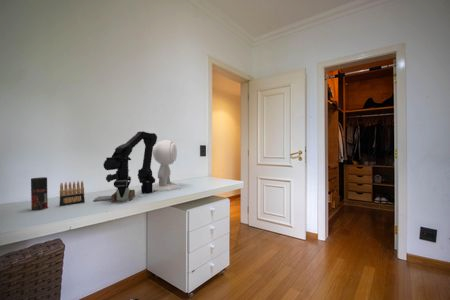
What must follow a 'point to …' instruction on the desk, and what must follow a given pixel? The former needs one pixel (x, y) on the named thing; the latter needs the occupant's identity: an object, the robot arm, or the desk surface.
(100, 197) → the mat
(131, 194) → the frame
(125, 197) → the block
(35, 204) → the black red box
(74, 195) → the ammunition clip
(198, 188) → the desk surface
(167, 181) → the big headed doll
